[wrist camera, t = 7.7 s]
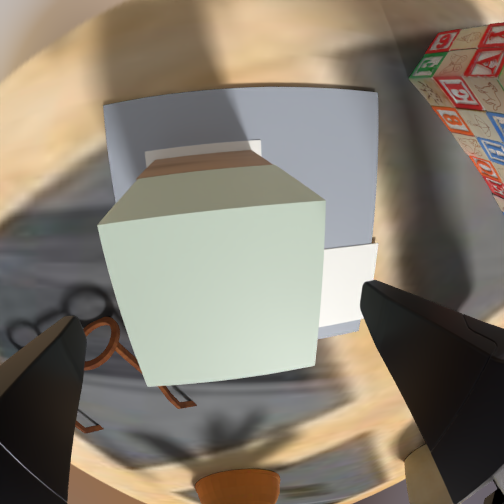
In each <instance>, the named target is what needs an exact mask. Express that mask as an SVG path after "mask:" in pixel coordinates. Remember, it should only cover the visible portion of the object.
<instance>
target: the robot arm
mask: <svg viewBox="0 0 504 504" xmlns="http://www.w3.org/2000/svg"><path fill="white" fill-rule="evenodd" d="M360 310H361V312H362V315H363V317H364V319H365V322H366V324H367V327H368V329H369V331H370V334H371V336H372V338H373V341H374V343H375V345H376V347H377V349H378V351H379V353H380V355H381V357H382V359H383V360H384V362H385V364H386V366H387V368H388V370H389V372H390V373H391V375H392V377H393V379H394V381H395V383H396V385H397V387H398V388H399V390H400V392H401V394H402V396H403V398H404V400H405V402H406V404H407V406H408V408H409V410H410V412H411V414H412V416H413V418H414V420H415V422H416V424H417V426H418V428H419V430H420V432H421V434H422V436H423V438H424V440H425V442H426V444H427V446H428V448H429V450H430V452H431V455H432V457H433V459H434V462H435V464H436V466H437V468H438V470H439V472H440V475H441V477H442V479H443V481H444V484H445V486H446V488H447V490H448V493H449V495H450V497H451V500H452V502H453V504H459V503H460V502H462V501H463V500H465V499H467V498H468V497H470V496H471V495H473V494H474V493H475V492H477V491H478V490H480V489H481V488H483V487H484V486H485V485H487V484H488V483H490V482H491V481H492V480H493V481H494V483H495V484H496V487H497V490H496V491H494V492H493V493H492V494H491V495H489V496H488V497H487V498H485V500H484V504H504V329H503V328H500V327H497V326H494V325H491V324H488V323H485V322H483V321H480V320H477V319H475V318H472V317H470V316H467V315H465V314H464V315H463V314H462V313H460V312H457V311H454V310H452V309H449V308H447V307H444V306H442V305H439V304H437V303H434V302H432V301H429V300H426V299H424V298H421V297H419V296H416V295H414V294H411V293H408V292H406V291H403V290H401V289H398V288H395V287H393V286H390V285H388V284H385V283H382V282H380V281H377V280H371V281H366V282H364V283H363V286H362V292H361V299H360ZM86 347H87V339H86V335H85V333H84V330H83V328H82V325H81V323H80V320H79V318H78V317H77V316H65V317H63V318H62V319H60V320H59V321H58V322H56V323H55V324H54V325H52V326H51V327H50V328H48V329H47V330H46V331H44V332H43V333H42V334H40V335H39V336H38V337H36V338H35V339H34V340H32V341H31V342H30V343H28V344H27V345H26V346H24V347H23V348H22V349H21V350H19V351H18V352H17V353H15V354H14V355H13V356H12V357H10V358H9V359H8V360H6V361H5V362H4V363H3V364H1V365H0V504H67V499H68V484H69V483H68V482H69V472H70V462H71V453H72V445H73V437H74V430H75V423H76V417H77V411H78V405H79V400H80V394H81V389H82V383H83V374H84V364H85V355H86Z"/></svg>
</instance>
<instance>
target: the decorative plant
mask: <svg viewBox="0 0 504 504" xmlns="http://www.w3.org/2000/svg"><path fill="white" fill-rule="evenodd" d="M279 484H280V476H279V475H278V474H277V473H275V472H273V471H269V470H263V469H239V470H231V471H224V472H220V473H216V474H212V475H209V476H207V477H204V478H202V479H201V480H199V481H198V482H197V483H196V485H195V489H196V492H197V493H198V496H199V499H200V502H201V503H202V504H275V503H276V501H277V499H278V496H279V493H280V489H279Z"/></svg>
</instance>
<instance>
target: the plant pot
mask: <svg viewBox="0 0 504 504" xmlns="http://www.w3.org/2000/svg"><path fill="white" fill-rule="evenodd" d="M404 463H405V475H406V484H407V491H408V497H409V501H410V504H453V502H452V500H451V497H450V495H449V493H448V490H447V488H446V486H445V484H444V481H443V479H442V477H441V475H440V472H439V470H438V468H437V466H436V464H435V462H434V459H433V457H432V455H431V452H430V450H429V448H428V446H427V444H425V445H423V446H421V447H420V448H418V449H417V450H415V451H414V452H412V453H411V454H410V455H409V456H408V457H407V458H406V459H405V462H404ZM468 498H469V497H468ZM465 500H466V499H465ZM465 500H463V501H465ZM463 501H462V502H463ZM462 502H460V503H459V504H461V503H462Z"/></svg>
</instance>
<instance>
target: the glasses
mask: <svg viewBox="0 0 504 504" xmlns="http://www.w3.org/2000/svg"><path fill="white" fill-rule="evenodd" d="M103 325H109V326H110V327H111V338H110V341H109V344H108V346H107V347H106V349H105V350H104V352H103V353H102V354H101V355H99V356H98V357H97V358H95V359H93V360H91V361H85V364H84V370H91V369H94V368H97V367H99V366H100V365H102V364H103V363H105V362H106V361H107V360H108V359H109V358H110V357H111V356H112V354H113V353H114V351H116V352H117V353H119V354H120V355H121V356H122V357H123V358H124V359H125V360H126V361H128V362H129V363H130V364H131V365H132V366H133V367H135V368H136V369H137V370H138V371H139V372H141V373H142V371H141V369H140V366H139V363H138V361H137V359H136V358H135V357H134V356H133V355H132V354H131V353H130V352H129V351H128V350H126V349H125V348H124V347H123V346H122V345H121V344H120V343H119V342H118V341H119V336H120V329H119V325H118V324H117V322H116V321H115V320H114V319H113V318H111V317H103V318H101V319H99V320H97V321H94V322H92V323H90V324H88V325H87V326H86V327H85V328H84V329H83V330H84V333H85V335H86V336H87V335H88V334H89V333H90V332H91V331H93V330H94V329H96V328H97V327H100V326H103ZM158 387H159V388H160V390H161V391H162V392H163V394H164V395H165V396H166V398H167V399H168V400H169V401H170V402H171V403H172V404H173V405H174V406H175V407H176V408H178V409H181V408H187V407H193V406H197V405H196V404H195V403H194V402H193V401H186V402H179V401H178V400H177V399H176V398H175V397H174V396H173V395H172V394H171V393H170V391H169V390H168V388H167V387H166V386H158ZM75 427H77V428H78V429H79V430H81V431H82V432H84V433H90V432H94V431H98V430H102V429H103V428H102V427H101V426H100V425H96V426H91V427H87V428H85V427H84V426H82V425H81V424H80V423H79V422H78V421H76V423H75Z"/></svg>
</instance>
